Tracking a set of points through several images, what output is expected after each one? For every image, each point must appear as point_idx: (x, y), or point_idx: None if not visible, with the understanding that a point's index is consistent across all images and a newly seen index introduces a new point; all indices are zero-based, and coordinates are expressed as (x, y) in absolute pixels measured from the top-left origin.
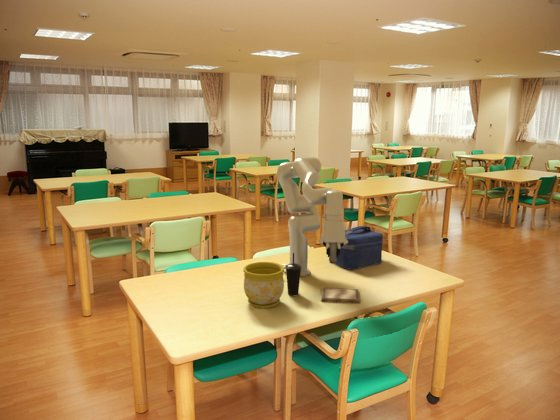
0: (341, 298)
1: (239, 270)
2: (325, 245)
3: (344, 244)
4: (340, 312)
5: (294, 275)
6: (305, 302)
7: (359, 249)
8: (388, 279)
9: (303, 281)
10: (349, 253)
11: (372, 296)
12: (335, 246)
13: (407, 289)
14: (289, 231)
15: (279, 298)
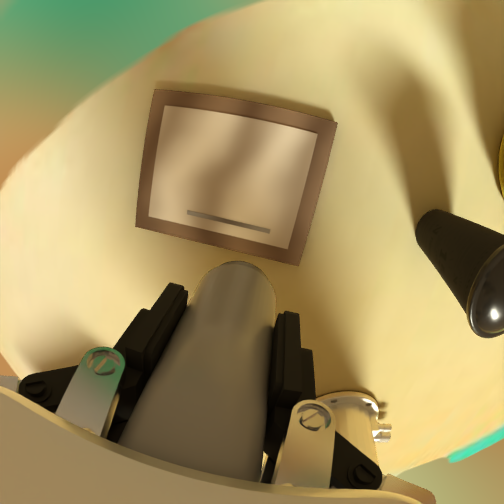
0: (234, 114)
1: (478, 413)
2: (333, 451)
3: (22, 381)
4: (269, 6)
5: (496, 233)
6: (408, 127)
7: None
8: (50, 315)
9: (350, 353)
10: None
11: (96, 168)
12: (157, 398)
13: (9, 230)
14: None
15: (500, 165)
